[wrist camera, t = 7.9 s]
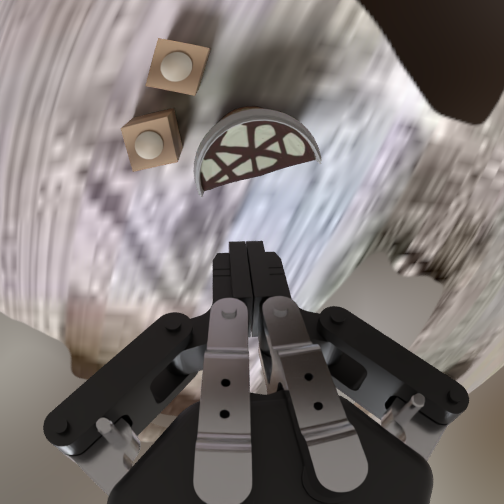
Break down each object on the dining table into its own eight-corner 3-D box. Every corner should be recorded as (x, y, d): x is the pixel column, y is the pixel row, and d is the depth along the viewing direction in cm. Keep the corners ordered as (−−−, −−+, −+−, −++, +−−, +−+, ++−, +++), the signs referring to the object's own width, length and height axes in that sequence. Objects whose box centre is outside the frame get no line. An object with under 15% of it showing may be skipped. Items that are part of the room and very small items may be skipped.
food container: (290, 84, 32) (313, 98, 24) (302, 133, 36) (326, 162, 28) (184, 114, 33) (171, 138, 25) (201, 161, 37) (195, 199, 29)
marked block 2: (133, 117, 33) (120, 128, 29) (174, 107, 33) (166, 117, 28) (143, 156, 36) (132, 172, 32) (182, 147, 36) (177, 162, 31)
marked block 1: (166, 39, 28) (157, 38, 24) (211, 48, 29) (209, 48, 25) (155, 81, 31) (145, 86, 26) (198, 89, 32) (194, 96, 28)
